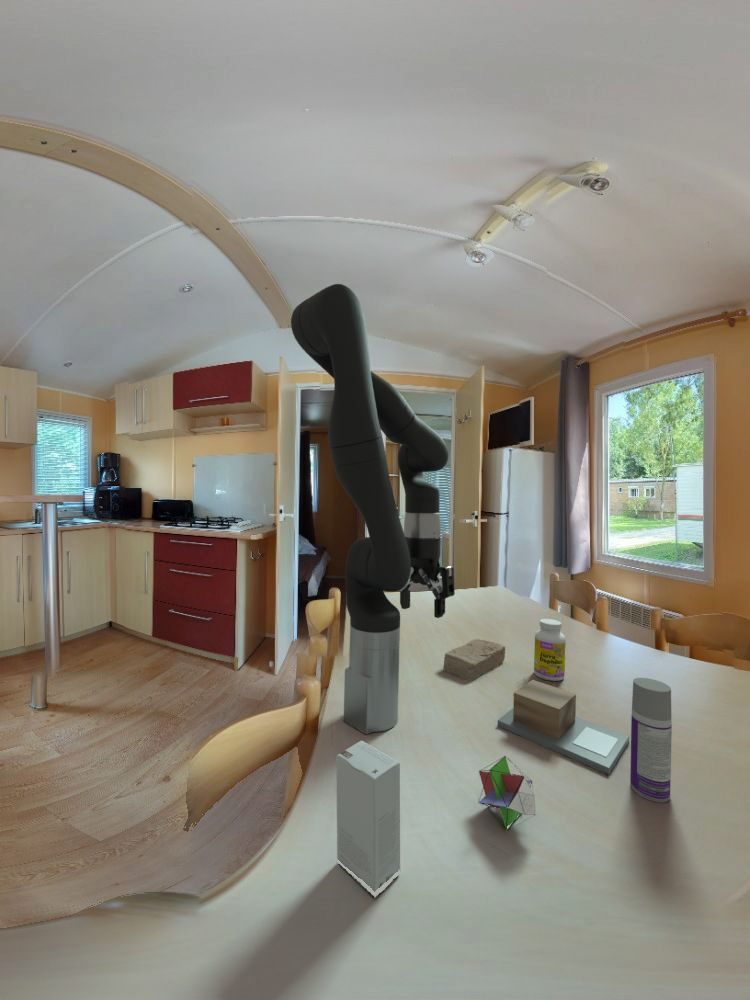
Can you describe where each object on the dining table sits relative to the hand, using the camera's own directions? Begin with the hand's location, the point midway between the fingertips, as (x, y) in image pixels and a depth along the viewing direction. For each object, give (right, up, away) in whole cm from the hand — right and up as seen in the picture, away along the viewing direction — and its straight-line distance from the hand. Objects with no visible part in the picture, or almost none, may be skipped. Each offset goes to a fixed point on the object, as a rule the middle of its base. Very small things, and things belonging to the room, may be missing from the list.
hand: (421, 612), depth 83 cm
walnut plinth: (+21, -18, -10) cm, 29 cm away
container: (+29, -18, -26) cm, 43 cm away
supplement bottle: (+31, -18, +11) cm, 38 cm away
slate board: (+23, -18, -13) cm, 32 cm away
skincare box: (-11, -17, -40) cm, 44 cm away
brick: (+15, -18, +16) cm, 29 cm away
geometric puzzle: (+7, -18, -32) cm, 37 cm away
